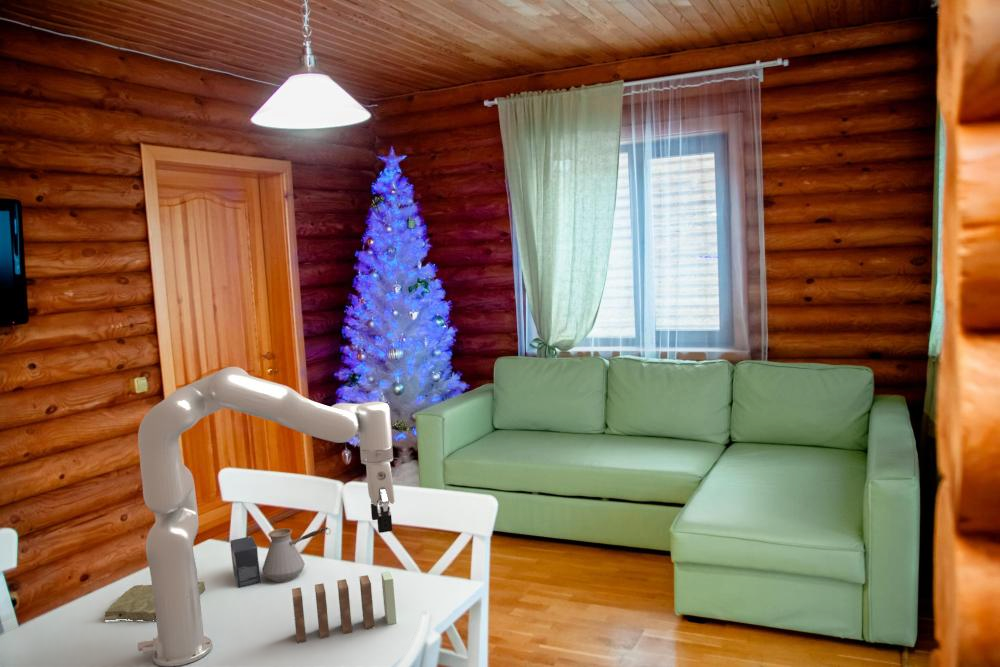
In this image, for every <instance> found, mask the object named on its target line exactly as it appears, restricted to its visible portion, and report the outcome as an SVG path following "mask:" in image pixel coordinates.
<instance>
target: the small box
mask: <svg viewBox="0 0 1000 667" xmlns="http://www.w3.org/2000/svg"><path fill="white" fill-rule="evenodd" d="M230 552H231V564H232V571H233V575H234V578H235V582H236V584H237V588H238V589H241V588H245V587H250V586H254V585H258V584H261V583H262V578H261V571H260V563H259V557H258V556H259V554H258V546H257V544H256V541H255V540H254V537H253V536H252V535H250V536H245V537H241V538H235V539H232V540H230Z"/></svg>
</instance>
